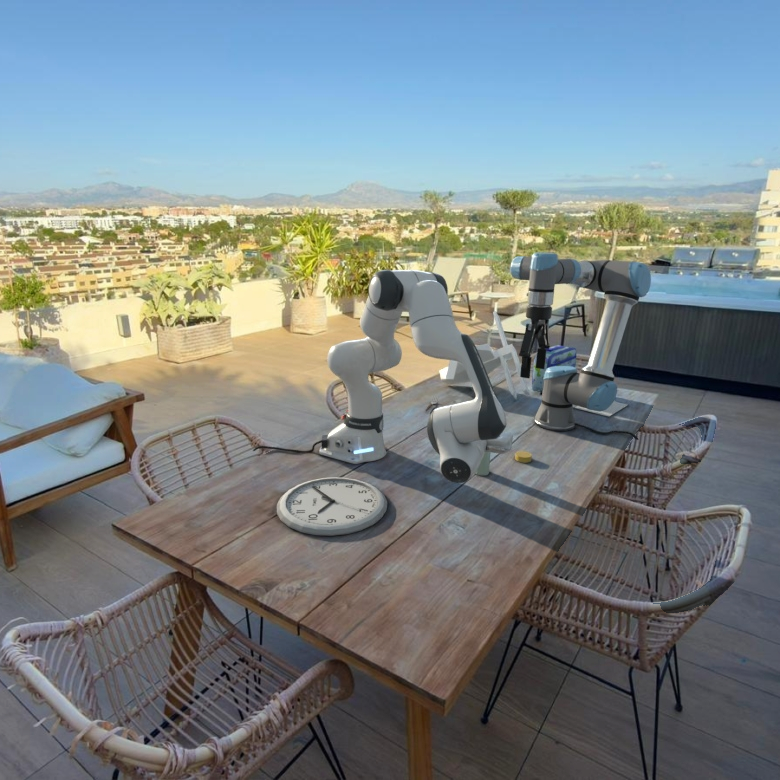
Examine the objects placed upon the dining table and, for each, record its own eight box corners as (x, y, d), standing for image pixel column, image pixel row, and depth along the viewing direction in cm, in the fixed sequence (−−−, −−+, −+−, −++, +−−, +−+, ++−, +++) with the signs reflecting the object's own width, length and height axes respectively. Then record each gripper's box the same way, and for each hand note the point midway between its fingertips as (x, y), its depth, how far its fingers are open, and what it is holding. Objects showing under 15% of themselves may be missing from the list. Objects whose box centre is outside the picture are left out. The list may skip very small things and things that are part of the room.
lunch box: (548, 398, 236) (553, 353, 229) (527, 393, 243) (531, 349, 237) (575, 387, 253) (581, 344, 247) (555, 382, 260) (560, 341, 254)
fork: (422, 411, 216) (422, 407, 215) (433, 400, 230) (433, 396, 230) (428, 412, 215) (429, 407, 215) (438, 401, 230) (439, 396, 229)
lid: (527, 455, 176) (528, 450, 176) (533, 462, 171) (534, 457, 171) (512, 456, 176) (513, 451, 175) (518, 463, 171) (518, 457, 170)
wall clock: (392, 527, 129) (268, 531, 127) (391, 533, 130) (269, 537, 127) (383, 473, 158) (282, 475, 155) (383, 478, 158) (282, 480, 156)
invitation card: (608, 416, 214) (573, 407, 224) (608, 416, 214) (573, 408, 224) (628, 404, 229) (594, 396, 238) (628, 405, 229) (594, 397, 238)
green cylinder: (479, 476, 161) (483, 418, 155) (471, 470, 165) (475, 414, 159) (491, 474, 163) (496, 417, 157) (483, 468, 167) (487, 412, 161)
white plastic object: (461, 429, 252) (437, 405, 227) (444, 352, 274) (420, 323, 250) (535, 404, 240) (518, 377, 215) (510, 326, 262) (492, 293, 237)
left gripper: (511, 440, 130) (517, 422, 143) (431, 429, 137) (444, 412, 149) (508, 463, 132) (515, 443, 145) (430, 451, 139) (443, 433, 151)
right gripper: (541, 300, 170) (534, 363, 177) (512, 308, 151) (506, 379, 157) (564, 302, 166) (556, 366, 173) (537, 311, 147) (530, 383, 153)
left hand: (478, 427), depth 147 cm, fingers open, 8 cm apart
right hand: (532, 372), depth 165 cm, fingers open, 13 cm apart
